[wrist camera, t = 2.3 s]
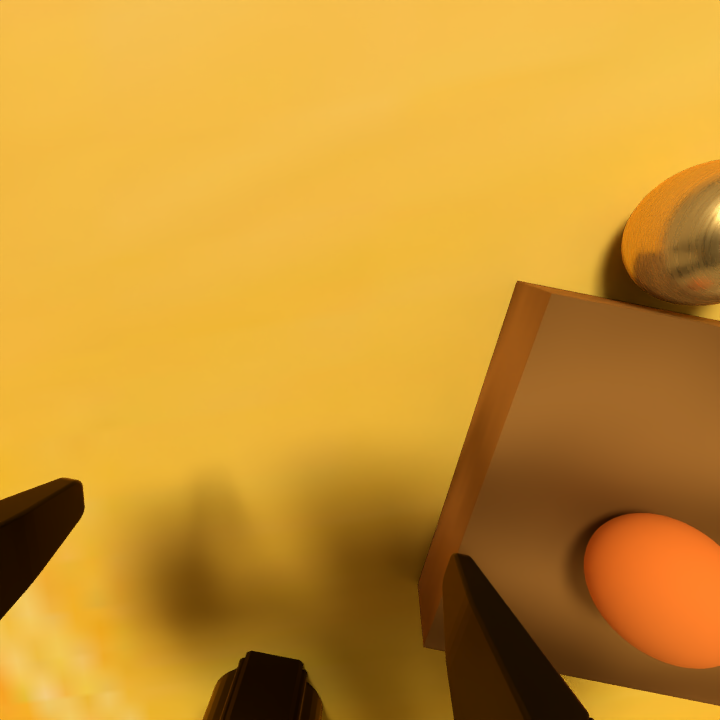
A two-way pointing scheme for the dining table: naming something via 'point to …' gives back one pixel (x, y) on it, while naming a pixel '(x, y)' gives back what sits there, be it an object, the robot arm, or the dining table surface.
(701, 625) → the ball
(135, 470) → the dining table surface
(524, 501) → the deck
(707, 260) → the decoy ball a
